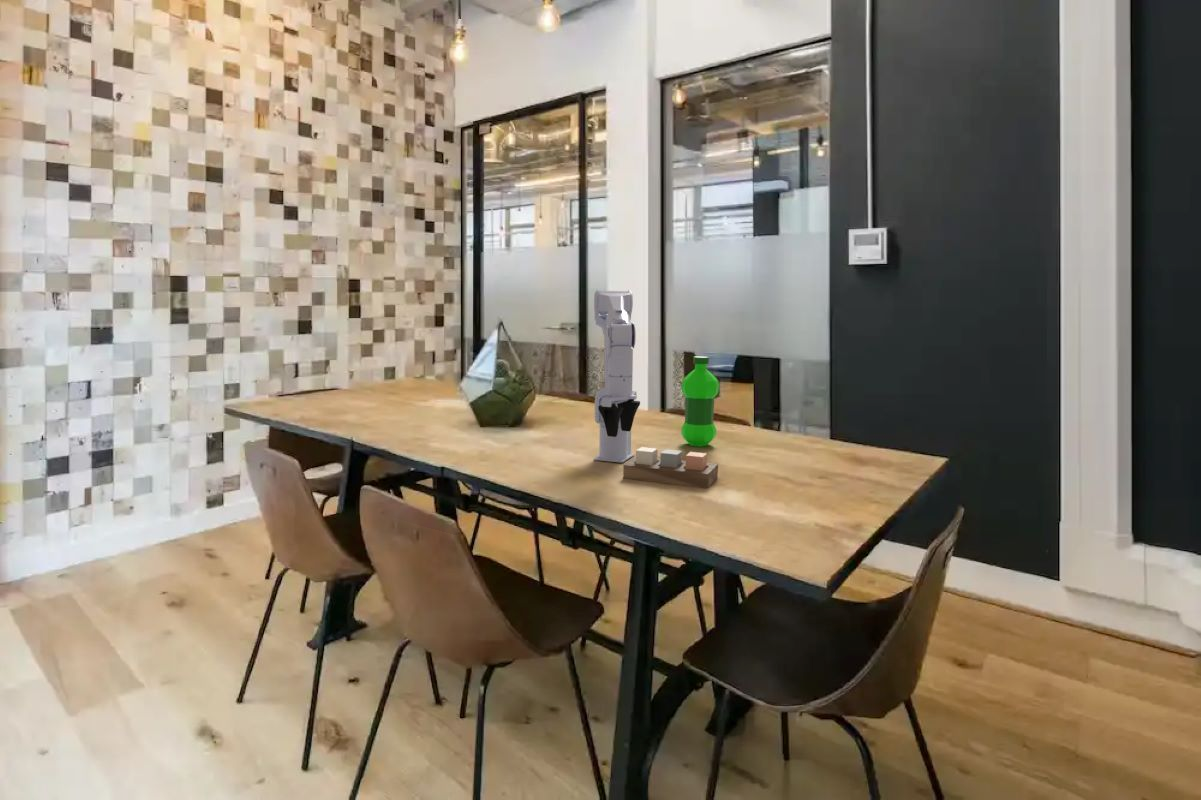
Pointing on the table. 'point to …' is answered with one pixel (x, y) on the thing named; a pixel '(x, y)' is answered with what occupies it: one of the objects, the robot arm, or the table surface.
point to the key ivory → (646, 456)
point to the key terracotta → (696, 461)
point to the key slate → (671, 458)
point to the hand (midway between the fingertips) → (619, 433)
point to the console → (671, 474)
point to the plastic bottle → (699, 404)
